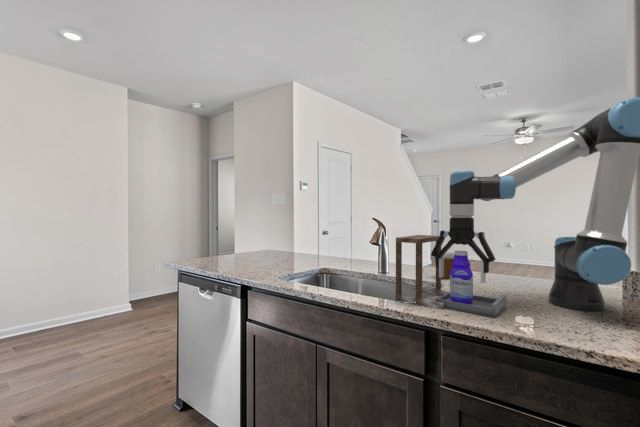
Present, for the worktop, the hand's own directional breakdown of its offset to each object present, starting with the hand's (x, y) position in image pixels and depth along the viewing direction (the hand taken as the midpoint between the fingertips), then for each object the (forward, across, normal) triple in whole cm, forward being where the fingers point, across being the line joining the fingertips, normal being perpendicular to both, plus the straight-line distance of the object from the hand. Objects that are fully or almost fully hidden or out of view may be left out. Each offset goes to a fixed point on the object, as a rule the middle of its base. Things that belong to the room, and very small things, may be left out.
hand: (461, 279), depth 110 cm
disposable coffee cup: (+9, +21, -41) cm, 47 cm away
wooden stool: (+9, +11, 0) cm, 14 cm away
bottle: (+8, 0, 0) cm, 8 cm away
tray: (+9, -3, 0) cm, 9 cm away
